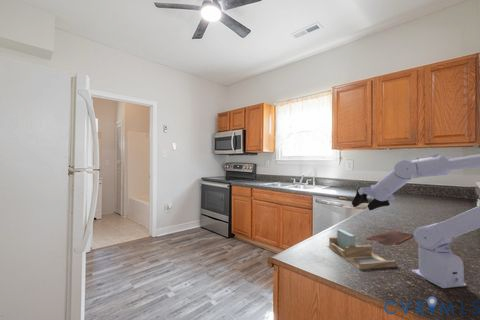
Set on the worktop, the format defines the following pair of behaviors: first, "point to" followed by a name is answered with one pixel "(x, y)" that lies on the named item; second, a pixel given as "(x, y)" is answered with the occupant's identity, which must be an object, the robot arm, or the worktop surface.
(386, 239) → the wooden tablet
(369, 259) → the felt pad
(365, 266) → the rack
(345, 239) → the panel
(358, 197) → the robot arm
